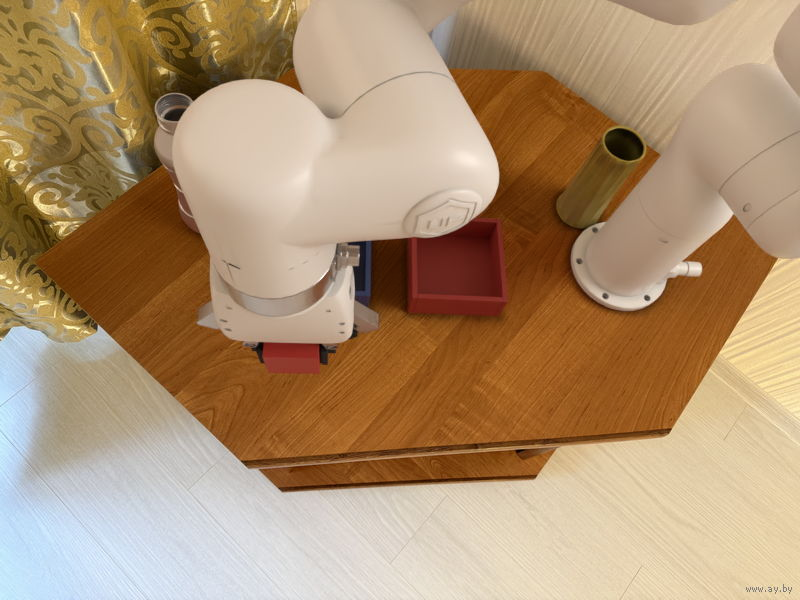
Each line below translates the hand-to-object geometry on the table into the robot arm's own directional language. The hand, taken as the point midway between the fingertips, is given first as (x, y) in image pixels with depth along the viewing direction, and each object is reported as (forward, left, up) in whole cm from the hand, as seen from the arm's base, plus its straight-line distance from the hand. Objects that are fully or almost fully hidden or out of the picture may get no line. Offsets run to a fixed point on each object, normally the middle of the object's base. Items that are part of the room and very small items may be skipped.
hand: (295, 347), depth 54 cm
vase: (-35, -26, -14) cm, 46 cm away
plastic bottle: (+12, -21, -14) cm, 28 cm away
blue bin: (-2, -15, -14) cm, 21 cm away
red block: (0, 0, 0) cm, 0 cm away
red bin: (-18, -15, -14) cm, 27 cm away
